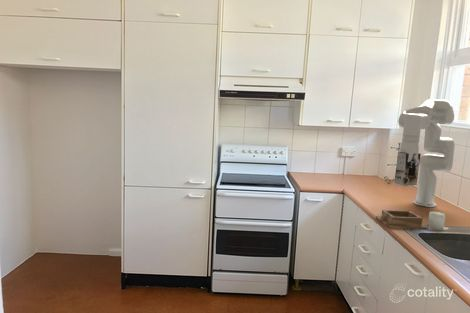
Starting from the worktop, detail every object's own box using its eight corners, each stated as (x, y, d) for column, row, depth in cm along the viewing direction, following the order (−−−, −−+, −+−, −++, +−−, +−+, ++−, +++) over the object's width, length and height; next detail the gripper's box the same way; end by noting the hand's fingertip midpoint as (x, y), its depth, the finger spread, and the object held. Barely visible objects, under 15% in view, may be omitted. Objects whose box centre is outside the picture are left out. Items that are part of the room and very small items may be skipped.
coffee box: (404, 186, 171) (408, 153, 169) (393, 183, 177) (397, 151, 175) (417, 185, 175) (421, 153, 172) (406, 182, 181) (410, 151, 178)
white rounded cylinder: (424, 224, 179) (426, 211, 178) (437, 224, 179) (439, 211, 178) (433, 229, 172) (434, 215, 171) (446, 229, 172) (448, 215, 171)
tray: (375, 217, 186) (376, 208, 185) (410, 218, 187) (411, 209, 186) (390, 228, 170) (391, 218, 170) (427, 229, 171) (429, 219, 171)
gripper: (394, 137, 181) (390, 170, 184) (413, 140, 164) (408, 177, 166) (408, 137, 181) (404, 170, 184) (428, 141, 164) (424, 177, 167)
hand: (406, 173), depth 175 cm, fingers closed on coffee box, 8 cm apart
